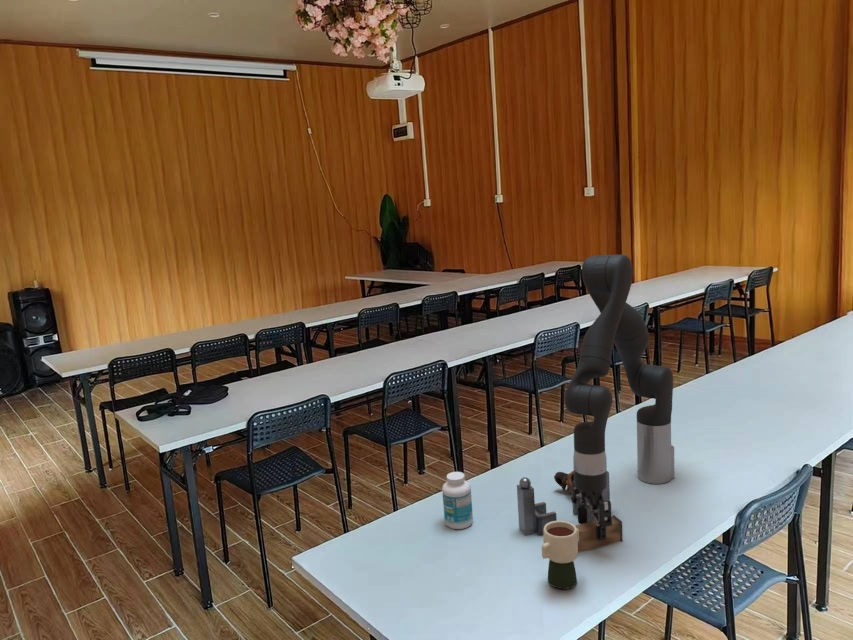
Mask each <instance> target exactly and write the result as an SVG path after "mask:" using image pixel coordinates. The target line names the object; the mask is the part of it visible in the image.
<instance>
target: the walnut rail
mask: <svg viewBox="0 0 853 640" xmlns="http://www.w3.org/2000/svg"><path fill="white" fill-rule="evenodd" d="M599 521H600V520H599ZM574 525H575V524H574ZM575 526H576V528H578V530H579V541H578V553H580V552H581V553H582V552H584V551H590V550H593V549H597V548H600V547H604V546H609V545H612V544H617V543H622V542H623V521H622V520H621V519H620V518H619V517H617V516H616V515H615V514H613V515H612V525H611V526H607V527H606V539H605V540H601V541H598V540H597V539H596V523H595V521H592V522H588V523H583V524H579V523H578V524H576V525H575Z"/></svg>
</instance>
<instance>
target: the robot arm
mask: <svg viewBox="0 0 853 640" xmlns="http://www.w3.org/2000/svg"><path fill="white" fill-rule="evenodd" d="M633 268H634V267H633V264H632V260H631V259H630V257H629V256H628V255H626V254H605V255H604V254H603V255H602V254H601V255H592V256H589V257H586V259H585V260H584V261H583V263H582V266H581V277H582V280H583V284H584V287H585V289H586V291H587V293H588V295H589V296H590V298H591V299H592V301H593V302H594V304H595V305H596V308H597V309H598V311H599V312H600V314H599V315H598V317H597V318H596V319H595V320H594V321H593V323H592V324H591V325H590V327H589V328H588V329H587V331H586V333H585V334H584V337H583V339H582V343H581V349H580V354H579V360H578V364H577V367H576V368H575V369H576V370H575V371H574V374H573V376H572V378H571V380H570V382H569V384H568V386H567V389H566V391H565V393H564V405H565V408H566V410H567V411H568V412H570V413H572V414H575V415H583V416H589V417H593V420H592V421H583V422H579V423H577V424H576V425H575V426H574V428H573V456H572V457H573V471H574V481H572V492H571V497H572V499H571V503H572V502H573V503H575V504H576V508H577V510H578V514H577V523H578V525H579V524H583V523H587V508H588V509H589V511H590V514H591V516H592V517H594V520H595V523H596V539H597V540H598V541H601V540H605V539H606V527H607V526H611V525H612V516H613V515H612V502H611V499H610V500H608V501H605V500H603V495H602V492H603V490H604V489H605V488H606V487H607V471H608V469H607V467H608V466H607V464H608V463H607V453H606V430H607V429H606V428H607V422H608V418H609V415H610V412H611V409H612V406H613V395H612V392H611V391H610V389H609V388H608V387H606V386H604V385H598V384H597V385H595V384H588V383H589V382H590V381H591V380H593V379H596V378H603V377H606V376H607V375H608V374H609V371H610V368H611V361H612V354H613V349H614V348H613V347H614V346H615V348H616V350H617V352H618V355H619V357H620V360H621V363H622V364H623V365H622V366H623V368H624V371H625V372H624V373H625V374H626V377H627V382H628V384H629V385H628V386H629V388H630V389H631V392H632V393H633V394H634V395H636V396H638V397H643V398H648V399H655V400H654V401H655V403H653V404H650V405H645V406H642V407H640V408H639V409H638V410H637V411H636V444H637V445H636V448H637V449H636V450H637V451H636V455H637V459H636V461H637V465H636V466H637V469H636V470H637V478H638V479H639V480H640V481H641V482H644V483H648V484H652V485H654V484H655V485H661V484H666V483H668V482H671V480H672V479H675V477H676V476H675V446H674V445H673V444H672V413H673V395H674V394H673V393H674V375H673V371H672V370H671V368H670V367H669V366H664V365H663V366H662V365H655V364H646V363H644V362H643V360H642V358H641V357H642V355H643V354H644V352H645V350H646V349H647V347H648V345H649V342H650V333H649V331H648V327H647V325H646V322H645V319H644V318H643V316H642V315H641V313H640V312H639V311H638V310H637V309H635V307H634V306H632V305H630V304H629V303H628V302H627V301H628V297H629V293H630V290H631V287H632V283H633V276H634V269H633ZM577 494H579V496H578V497H577V498H576V495H577ZM585 507H587V508H585ZM598 509H599V512H595V511H594V510H598ZM598 515H599V517H600V521H599V519H598Z"/></svg>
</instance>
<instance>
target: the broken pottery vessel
mask: <svg viewBox="0 0 853 640" xmlns="http://www.w3.org/2000/svg"><path fill="white" fill-rule="evenodd" d="M553 478H554V482H556V483H557V485H559V487H561V489H562V491H565V490H566V488H567V490H569V491H570V492H571V493H572V481H574V470H572V471H571V472H569V473H566V472H562V471H558V472H556V473H555V474H554V476H553ZM571 500H572V496H571Z"/></svg>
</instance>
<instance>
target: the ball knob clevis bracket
mask: <svg viewBox="0 0 853 640" xmlns="http://www.w3.org/2000/svg"><path fill="white" fill-rule="evenodd" d="M531 484H532V481H531V480H530V478H528V477H524V476H523V477H522V478H521V479H519V484H517V485H516V493H517V494H516V495H517V496H516V497H517V498H516V499H517V512H518V514H517V515H518V529H519V530H520V532H521V533H522V534H523V535H524V536H526V537H527V536H529V535H535V534H536V535H537V536H538V537H539V536H544V532H543V530H544V526H545V525H546V524H547V523H549V522H552V521H558V520H557V519H558V518H557V513H556V511H551V512H547V503H546V502H545V501H542V502H538V503H535V502H536V501H535V499H536V498H535V488H534V487H533V486H532V485H531ZM610 489H611V488H610V472H609V471H608V470H607V487H606V488H605V489H604V490H603V492H602V495H603V500H605V501H608V500H610V501H611V499H610V498H611V497H610V496H611V495H610V494H611V493H610ZM578 496H579V494H577V495H576V498H577V497H578ZM571 503H572V514H573V515H574V516H576V515H578V510H577V508H576V504H575V503H573V502H572V501H571ZM585 508H587V507H585ZM594 511H595V512H599V509H598V510H594ZM598 519H599V520H600V517H599V515H598ZM592 521H595V520H594V517H592V516H591V514H590V511H589V509H588V508H587V523H588V522H592Z"/></svg>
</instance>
